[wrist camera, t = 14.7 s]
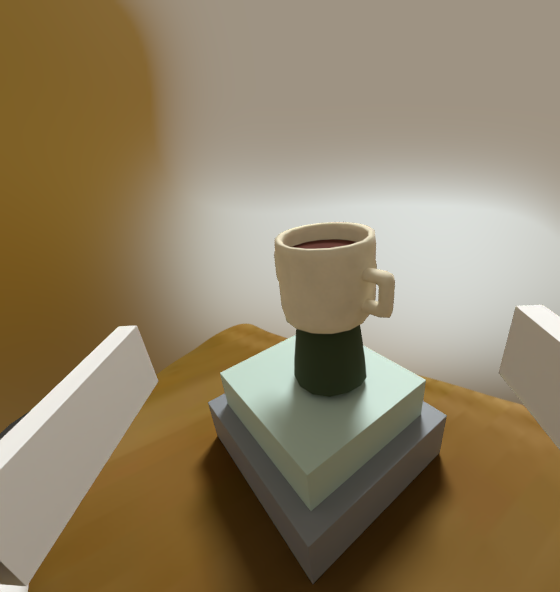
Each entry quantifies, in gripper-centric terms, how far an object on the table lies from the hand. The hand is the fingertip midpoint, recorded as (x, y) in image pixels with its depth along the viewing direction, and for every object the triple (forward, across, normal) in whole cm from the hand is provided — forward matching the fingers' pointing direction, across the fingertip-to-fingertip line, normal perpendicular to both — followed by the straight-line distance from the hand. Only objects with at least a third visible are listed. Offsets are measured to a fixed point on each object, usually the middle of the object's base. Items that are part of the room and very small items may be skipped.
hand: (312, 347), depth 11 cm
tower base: (+12, -1, -21) cm, 25 cm away
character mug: (+12, +1, -12) cm, 17 cm away
